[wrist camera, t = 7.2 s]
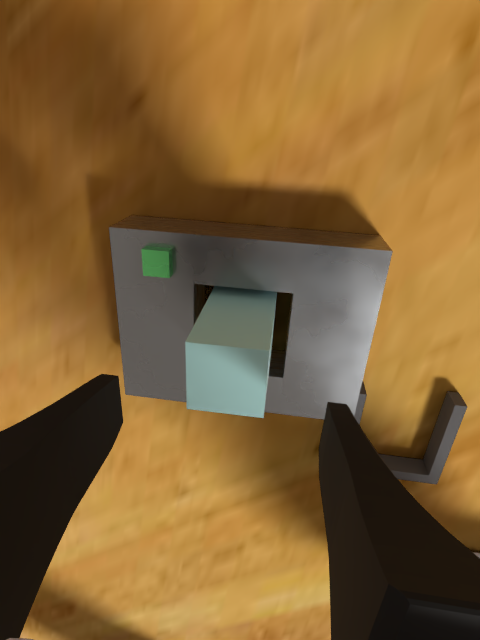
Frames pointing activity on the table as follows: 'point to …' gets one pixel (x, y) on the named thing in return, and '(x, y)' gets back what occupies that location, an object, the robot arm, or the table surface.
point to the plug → (231, 352)
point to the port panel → (258, 274)
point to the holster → (437, 446)
